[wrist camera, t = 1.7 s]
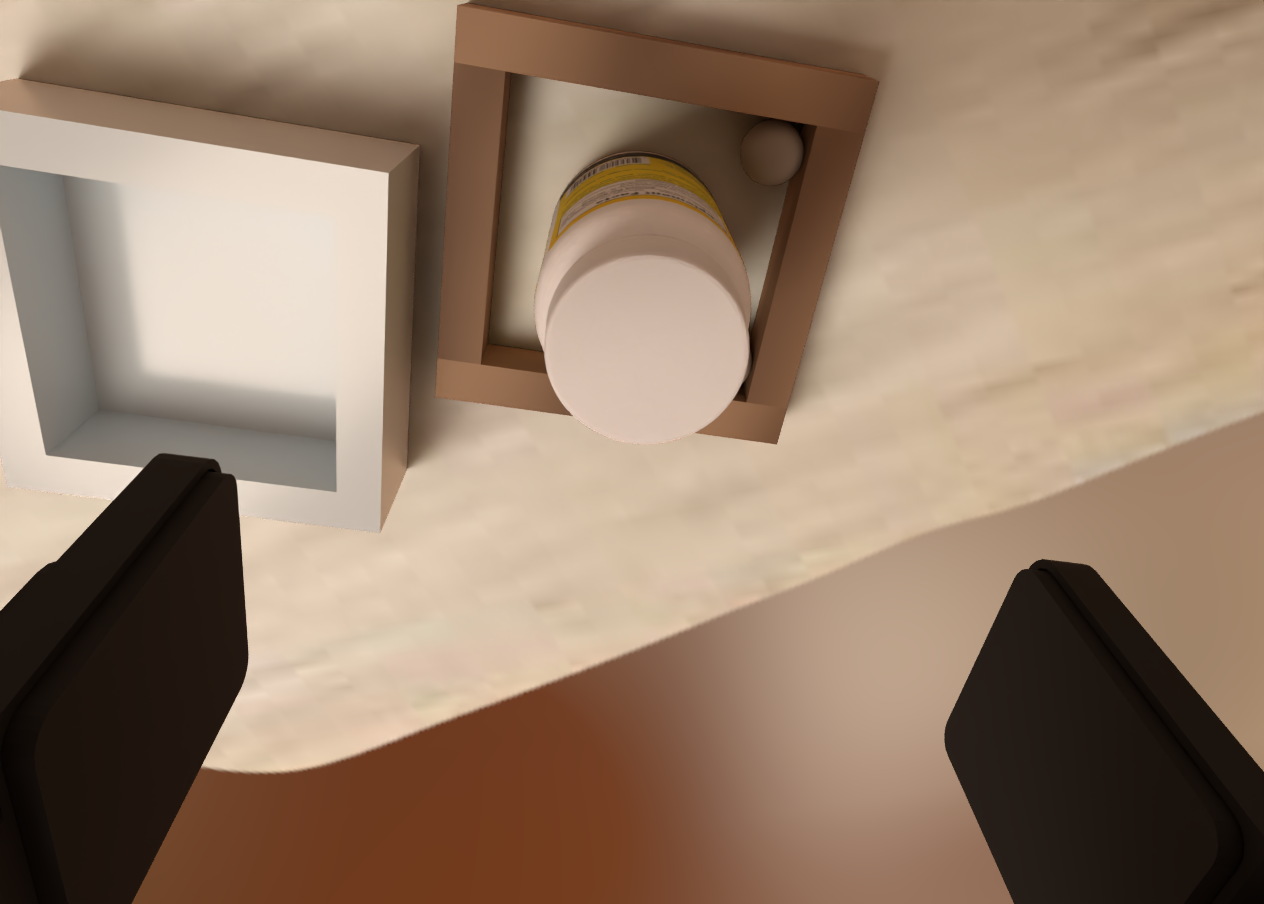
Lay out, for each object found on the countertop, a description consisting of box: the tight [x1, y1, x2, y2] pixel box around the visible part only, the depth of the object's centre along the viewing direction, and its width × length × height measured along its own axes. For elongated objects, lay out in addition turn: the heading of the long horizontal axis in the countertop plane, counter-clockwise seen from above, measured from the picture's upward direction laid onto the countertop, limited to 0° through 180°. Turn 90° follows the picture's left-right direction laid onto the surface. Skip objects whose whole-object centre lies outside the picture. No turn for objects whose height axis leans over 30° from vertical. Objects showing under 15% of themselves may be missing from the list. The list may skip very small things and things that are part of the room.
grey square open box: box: [0, 79, 420, 533], centre depth 23 cm, size 10×10×4 cm
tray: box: [435, 3, 879, 444], centre depth 23 cm, size 10×10×2 cm
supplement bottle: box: [534, 151, 751, 444], centre depth 20 cm, size 5×5×8 cm
